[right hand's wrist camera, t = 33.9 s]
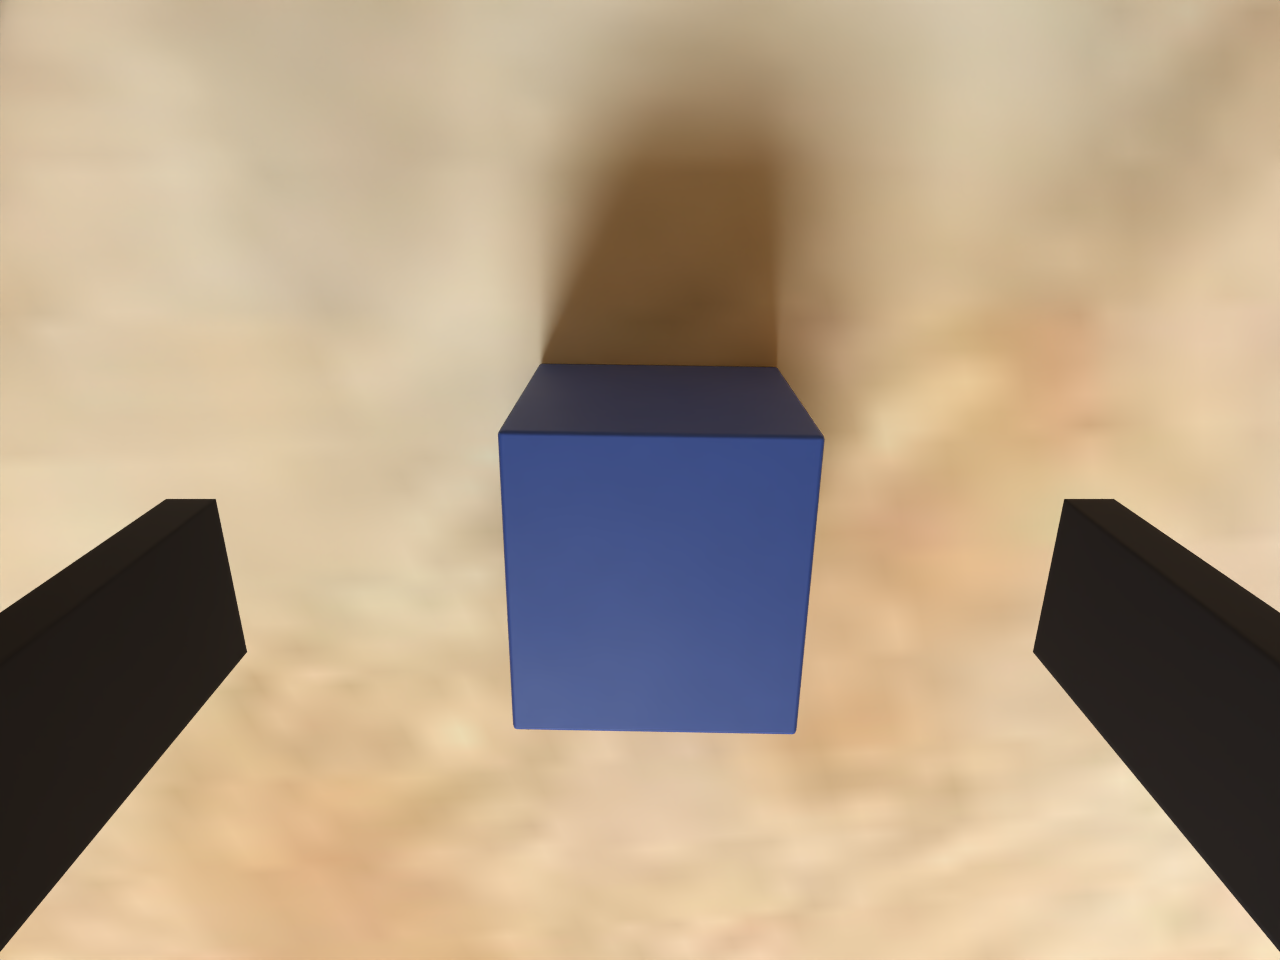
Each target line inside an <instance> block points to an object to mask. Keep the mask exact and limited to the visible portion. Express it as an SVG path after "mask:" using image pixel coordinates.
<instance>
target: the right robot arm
mask: <svg viewBox="0 0 1280 960" xmlns="http://www.w3.org/2000/svg"><path fill="white" fill-rule="evenodd" d="M246 653H247V650H246V645H245V640H244V635H243V630H242V625H241V620H240V615H239V611H238V606H237V601H236V596H235V591H234V586H233V581H232V576H231V572H230V567H229V562H228V557H227V552H226V547H225V542H224V537H223V532H222V528H221V523H220V518H219V513H218V508H217V503H216V499H166V500H164V501H163V502H161V503H160V504H158V505H157V506H155V507H154V508H152V509H151V510H150V511H148V512H147V513H145V514H144V515H142V516H141V517H139V518H138V519H136V520H135V521H133V522H132V523H131V524H129V525H128V526H126V527H125V528H123V529H122V530H120V531H119V532H117V533H116V534H114V535H113V536H112V537H110V538H109V539H107V540H106V541H104V542H103V543H101V544H100V545H98V546H97V547H95V548H94V549H93V550H91V551H90V552H88V553H87V554H85V555H84V556H82V557H81V558H79V559H78V560H76V561H75V562H74V563H72V564H71V565H69V566H68V567H66V568H65V569H63V570H62V571H60V572H59V573H58V574H56V575H55V576H53V577H52V578H50V579H49V580H47V581H46V582H44V583H43V584H41V585H40V586H39V587H37V588H36V589H34V590H33V591H31V592H30V593H28V594H27V595H25V596H24V597H22V598H21V599H20V600H18V601H17V602H15V603H14V604H12V605H11V606H9V607H8V608H6V609H5V610H3V611H2V612H1V613H0V951H1V950H2V949H3V948H4V947H5V945H6V944H7V943H8V942H9V940H10V939H11V938H12V937H13V936H14V934H15V933H16V932H17V931H18V929H19V928H20V927H21V926H22V925H23V923H24V922H25V921H26V920H27V919H28V917H29V916H30V915H31V914H32V912H33V911H34V910H35V909H36V908H37V906H38V905H39V904H40V903H41V902H42V900H43V899H44V898H45V897H46V895H47V894H48V893H49V892H50V891H51V889H52V888H53V887H54V886H55V885H56V883H57V882H58V881H59V880H60V878H61V877H62V876H63V875H64V874H65V872H66V871H67V870H68V869H69V868H70V866H71V865H72V864H73V863H74V861H75V860H76V859H77V858H78V857H79V855H80V854H81V853H82V852H83V851H84V849H85V848H86V847H87V846H88V844H89V843H90V842H91V841H92V840H93V838H94V837H95V836H96V835H97V834H98V832H99V831H100V830H101V829H102V827H103V826H104V825H105V824H106V823H107V821H108V820H109V819H110V818H111V817H112V815H113V814H114V813H115V812H116V810H117V809H118V808H119V807H120V806H121V804H122V803H123V802H124V801H125V800H126V798H127V797H128V796H129V795H130V793H131V792H132V791H133V790H134V789H135V787H136V786H137V785H138V784H139V783H140V781H141V780H142V779H143V778H144V776H145V775H146V774H147V773H148V772H149V770H150V769H151V768H152V767H153V766H154V764H155V763H156V762H157V761H158V759H159V758H160V757H161V756H162V755H163V753H164V752H165V751H166V750H167V749H168V747H169V746H170V745H171V744H172V742H173V741H174V740H175V739H176V738H177V736H178V735H179V734H180V733H181V732H182V730H183V729H184V728H185V727H186V725H187V724H188V723H189V722H190V721H191V719H192V718H193V717H194V716H195V715H196V713H197V712H198V711H199V710H200V708H201V707H202V706H203V705H204V704H205V702H206V701H207V700H208V699H209V697H210V696H211V695H212V694H213V693H214V691H215V690H216V689H217V688H218V687H219V685H220V684H221V683H222V682H223V680H224V679H225V678H226V677H227V676H228V674H229V673H230V672H231V671H232V670H233V668H234V667H235V666H236V665H237V663H238V662H239V661H240V660H241V659H242V657H243V656H244V655H245V654H246ZM1033 653H1034V654H1035V655H1036V656H1037V657H1038V659H1039V660H1040V661H1041V662H1042V663H1043V665H1044V666H1045V667H1046V668H1047V670H1048V671H1049V672H1050V673H1051V674H1052V676H1053V677H1054V678H1055V679H1056V680H1057V682H1058V683H1059V684H1060V685H1061V687H1062V688H1063V689H1064V690H1065V691H1066V693H1067V694H1068V695H1069V696H1070V698H1071V699H1072V700H1073V701H1074V702H1075V704H1076V705H1077V706H1078V707H1079V708H1080V710H1081V711H1082V712H1083V713H1084V715H1085V716H1086V717H1087V718H1088V719H1089V721H1090V722H1091V723H1092V724H1093V725H1094V727H1095V728H1096V729H1097V730H1098V732H1099V733H1100V734H1101V735H1102V736H1103V738H1104V739H1105V740H1106V741H1107V742H1108V744H1109V745H1110V746H1111V747H1112V749H1113V750H1114V751H1115V752H1116V753H1117V755H1118V756H1119V757H1120V758H1121V759H1122V761H1123V762H1124V763H1125V764H1126V766H1127V767H1128V768H1129V769H1130V770H1131V772H1132V773H1133V774H1134V775H1135V776H1136V778H1137V779H1138V780H1139V781H1140V783H1141V784H1142V785H1143V786H1144V787H1145V789H1146V790H1147V791H1148V792H1149V793H1150V795H1151V796H1152V797H1153V798H1154V800H1155V801H1156V802H1157V803H1158V804H1159V806H1160V807H1161V808H1162V809H1163V810H1164V812H1165V813H1166V814H1167V815H1168V817H1169V818H1170V819H1171V820H1172V821H1173V823H1174V824H1175V825H1176V826H1177V827H1178V829H1179V830H1180V831H1181V832H1182V834H1183V835H1184V836H1185V837H1186V838H1187V840H1188V841H1189V842H1190V843H1191V844H1192V846H1193V847H1194V848H1195V849H1196V851H1197V852H1198V853H1199V854H1200V855H1201V857H1202V858H1203V859H1204V860H1205V861H1206V863H1207V864H1208V865H1209V866H1210V868H1211V869H1212V870H1213V871H1214V872H1215V874H1216V875H1217V876H1218V877H1219V878H1220V880H1221V881H1222V882H1223V883H1224V885H1225V886H1226V887H1227V888H1228V889H1229V891H1230V892H1231V893H1232V894H1233V895H1234V897H1235V898H1236V899H1237V900H1238V902H1239V903H1240V904H1241V905H1242V906H1243V908H1244V909H1245V910H1246V911H1247V912H1248V914H1249V915H1250V916H1251V917H1252V919H1253V920H1254V921H1255V922H1256V923H1257V925H1258V926H1259V927H1260V928H1261V930H1262V931H1263V932H1264V933H1265V934H1266V936H1267V937H1268V938H1269V939H1270V940H1271V942H1272V943H1273V944H1274V945H1275V947H1276V948H1277V949H1278V950H1279V951H1280V613H1279V612H1278V611H1277V610H1275V609H1274V608H1272V607H1271V606H1269V605H1268V604H1266V603H1265V602H1263V601H1262V600H1260V599H1259V598H1258V597H1256V596H1255V595H1253V594H1252V593H1250V592H1249V591H1247V590H1246V589H1244V588H1243V587H1241V586H1240V585H1239V584H1237V583H1236V582H1234V581H1233V580H1231V579H1230V578H1228V577H1227V576H1225V575H1224V574H1222V573H1221V572H1220V571H1218V570H1217V569H1215V568H1214V567H1212V566H1211V565H1209V564H1208V563H1206V562H1205V561H1203V560H1202V559H1201V558H1199V557H1198V556H1196V555H1195V554H1193V553H1192V552H1190V551H1189V550H1187V549H1186V548H1185V547H1183V546H1182V545H1180V544H1179V543H1177V542H1176V541H1174V540H1173V539H1171V538H1170V537H1168V536H1167V535H1166V534H1164V533H1163V532H1161V531H1160V530H1158V529H1157V528H1155V527H1154V526H1152V525H1151V524H1149V523H1148V522H1147V521H1145V520H1144V519H1142V518H1141V517H1139V516H1138V515H1136V514H1135V513H1133V512H1132V511H1130V510H1129V509H1128V508H1126V507H1125V506H1123V505H1122V504H1120V503H1119V502H1117V501H1116V500H1114V499H1064V503H1063V508H1062V513H1061V518H1060V523H1059V528H1058V532H1057V537H1056V542H1055V547H1054V552H1053V557H1052V562H1051V567H1050V571H1049V576H1048V581H1047V586H1046V591H1045V596H1044V601H1043V606H1042V611H1041V615H1040V620H1039V625H1038V630H1037V635H1036V640H1035V645H1034V650H1033Z"/></svg>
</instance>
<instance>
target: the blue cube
mask: <svg viewBox="0 0 1280 960" xmlns="http://www.w3.org/2000/svg"><path fill="white" fill-rule="evenodd" d="M498 443H499V462H500V481H501V501H502V520H503V539H504V558H505V577H506V596H507V615H508V634H509V653H510V673H511V692H512V711H513V725H514V728H516V729H544V730H598V731H651V732H705V733H759V734H794V733H795V732H796V728H797V717H798V707H799V697H800V686H801V676H802V666H803V655H804V645H805V635H806V625H807V614H808V604H809V594H810V583H811V573H812V563H813V552H814V542H815V532H816V521H817V511H818V501H819V490H820V480H821V470H822V460H823V449H824V436H823V435H822V433H821V432H820V430H819V429H818V427H817V426H816V424H815V423H814V421H813V420H812V418H811V417H810V416H809V414H808V413H807V411H806V410H805V408H804V407H803V405H802V404H801V402H800V401H799V399H798V398H797V396H796V395H795V393H794V392H793V390H792V389H791V388H790V386H789V385H788V383H787V382H786V380H785V379H784V377H783V376H782V374H781V373H780V371H779V370H778V368H776V367H728V366H660V365H592V364H540V365H539V367H538V369H537V370H536V372H535V373H534V375H533V377H532V378H531V380H530V382H529V383H528V385H527V387H526V388H525V390H524V391H523V393H522V395H521V396H520V398H519V400H518V401H517V403H516V404H515V406H514V408H513V409H512V411H511V413H510V414H509V416H508V418H507V419H506V421H505V422H504V424H503V426H502V427H501V429H500V431H499V433H498Z"/></svg>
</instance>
